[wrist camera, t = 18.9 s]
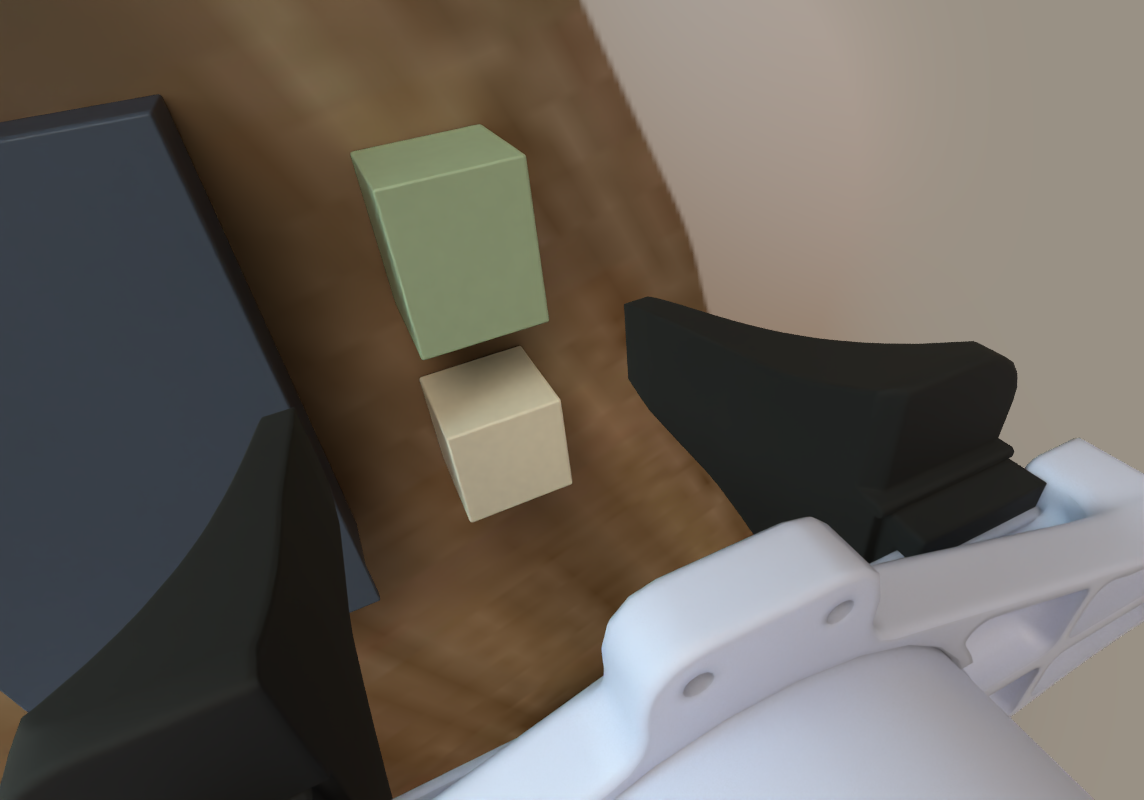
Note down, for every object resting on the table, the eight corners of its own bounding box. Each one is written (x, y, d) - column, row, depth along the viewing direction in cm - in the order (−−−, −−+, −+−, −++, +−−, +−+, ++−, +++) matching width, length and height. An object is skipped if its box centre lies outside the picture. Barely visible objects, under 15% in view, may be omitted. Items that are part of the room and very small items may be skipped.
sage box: (507, 272, 22) (550, 322, 19) (395, 304, 21) (422, 361, 18) (480, 123, 19) (526, 154, 16) (348, 151, 18) (371, 190, 15)
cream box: (534, 424, 27) (573, 484, 24) (442, 457, 26) (470, 524, 23) (520, 344, 24) (561, 399, 21) (418, 376, 23) (446, 439, 20)
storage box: (363, 525, 26) (380, 600, 23) (76, 632, 23) (53, 733, 20) (165, 83, 16) (150, 113, 13) (-380, 178, 13) (-562, 244, 10)
